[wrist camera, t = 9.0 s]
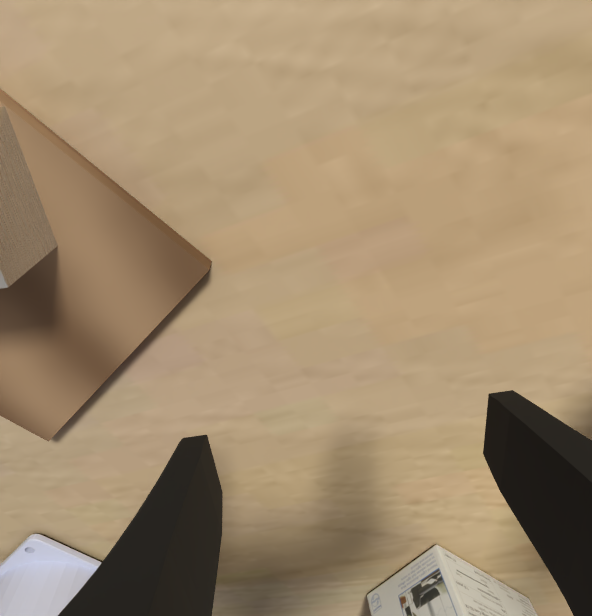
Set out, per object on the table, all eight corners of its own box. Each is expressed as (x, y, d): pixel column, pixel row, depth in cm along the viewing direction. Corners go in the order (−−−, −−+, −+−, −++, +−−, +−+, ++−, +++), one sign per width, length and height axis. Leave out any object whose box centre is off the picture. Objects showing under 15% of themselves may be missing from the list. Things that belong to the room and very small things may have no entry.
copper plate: (56, 427, 23) (48, 441, 22) (-212, 277, 18) (-236, 287, 18) (211, 261, 20) (209, 269, 19) (-70, 32, 15) (-90, 29, 14)
